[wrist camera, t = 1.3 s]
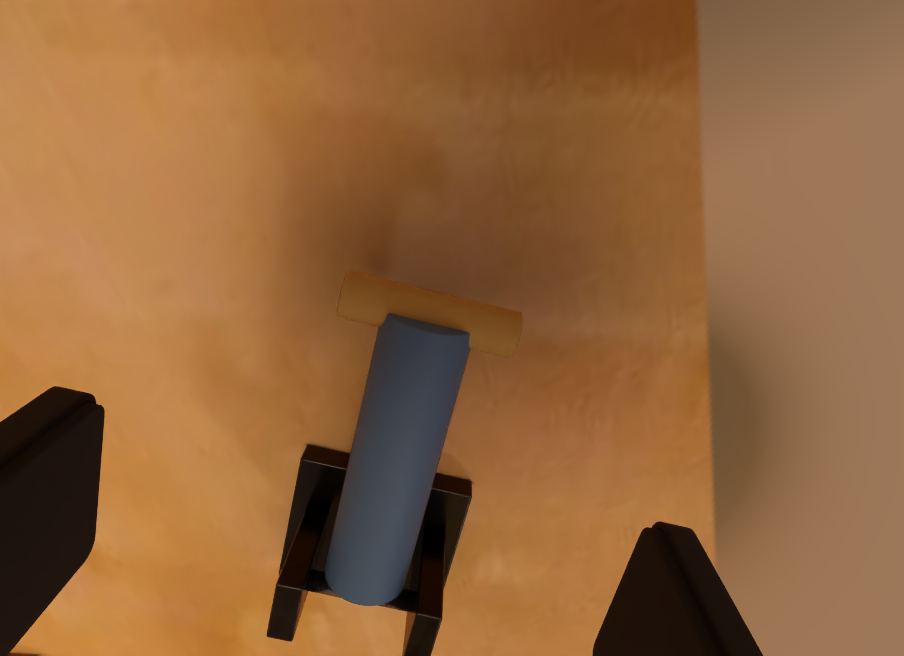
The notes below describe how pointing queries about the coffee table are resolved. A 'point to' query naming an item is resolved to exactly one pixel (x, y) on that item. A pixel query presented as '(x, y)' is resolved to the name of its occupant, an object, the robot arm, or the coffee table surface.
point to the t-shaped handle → (402, 423)
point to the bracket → (313, 539)
